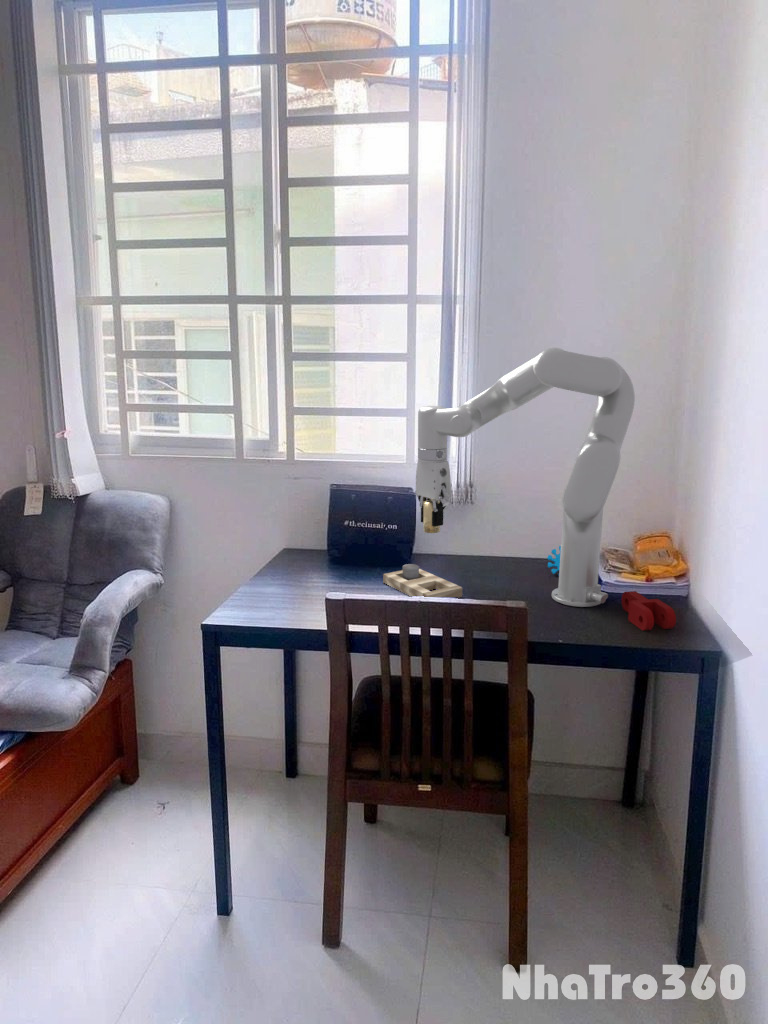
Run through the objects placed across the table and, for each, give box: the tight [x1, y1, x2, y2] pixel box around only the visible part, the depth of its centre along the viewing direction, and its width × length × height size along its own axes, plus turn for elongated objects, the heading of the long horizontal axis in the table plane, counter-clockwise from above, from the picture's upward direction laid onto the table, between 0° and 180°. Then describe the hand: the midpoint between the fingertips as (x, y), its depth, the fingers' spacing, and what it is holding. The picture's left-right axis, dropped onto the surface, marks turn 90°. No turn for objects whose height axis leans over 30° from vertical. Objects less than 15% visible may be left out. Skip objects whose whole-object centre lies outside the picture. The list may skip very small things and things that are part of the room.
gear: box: [547, 545, 561, 575], centre depth 206 cm, size 11×6×10 cm
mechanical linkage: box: [621, 590, 677, 632], centre depth 172 cm, size 16×7×5 cm, turn 10°
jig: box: [382, 563, 463, 599], centre depth 192 cm, size 20×11×5 cm, turn 33°
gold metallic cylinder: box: [422, 499, 441, 534], centre depth 192 cm, size 4×4×8 cm
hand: (431, 523), depth 193 cm, fingers closed on gold metallic cylinder, 4 cm apart
